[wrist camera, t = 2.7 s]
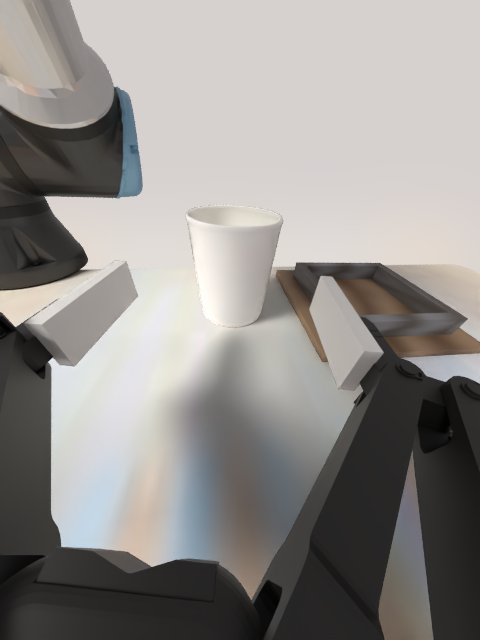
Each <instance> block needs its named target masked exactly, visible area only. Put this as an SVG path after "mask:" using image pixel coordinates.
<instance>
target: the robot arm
mask: <svg viewBox="0 0 480 640" xmlns="http://www.w3.org/2000/svg"><path fill="white" fill-rule="evenodd" d="M142 186H143V185H142V173H141V164H140V157H139V151H138V143H137V134H136V127H135V121H134V115H133V109H132V104H131V100H130V97H129V95H128V94H127V93H126V92H125V91H123V90H120V88H118V87H114V86H113V82H112V79H111V76H110V74H109V71H108V69H107V67H106V65H105V64H104V62H103V61H102V59H101V58H100V57H99V56H98V55H97V53H96V52H95V51H94V50H92V48H91V47H89V46H88V45H87V44H86V43H85V42H84V41H83V38H82V35H81V32H80V29H79V27H78V24H77V21H76V18H75V15H74V12H73V9H72V6H71V3H70V0H0V289H15V288H23V287H29V286H34V285H39V284H43V283H47V282H51V281H54V280H57V279H60V278H63V277H65V276H68V275H70V274H72V273H74V272H76V271H78V270H80V269H81V268H82V267H84V266H85V265H86V263H87V262H88V258H87V256H86V253H85V251H84V249H83V247H82V246H81V245H80V244H79V243H78V242H77V241H76V240H75V239H74V237H73V236H72V235H71V234H70V233H69V231H68V230H67V229H66V228H65V227H64V226H63V225H62V223H61V222H60V221H59V220H58V219H57V218H56V217H55V216H54V214H53V213H52V211H51V209H50V207H49V205H48V203H47V201H46V199H45V197H44V196H61V197H104V198H120V197H129V196H137V195H139V194H140V192H141V191H142ZM137 297H138V294H137V291H136V288H135V285H134V283H133V280H132V277H131V274H130V271H129V268H128V265H127V262H126V261H114V262H112V263H111V264H110V265H108V266H107V267H105V268H104V269H102V270H101V271H99V272H98V273H96V274H95V275H93V276H92V277H90V278H89V279H87V280H86V281H84V282H83V283H82V284H80V285H79V286H77V287H76V288H74V289H73V290H71V291H70V292H68V293H67V294H65V295H64V296H62V297H61V298H59V299H57V300H55V301H54V302H52V303H51V304H49V306H46V307H45V308H44V309H42V311H39V312H38V313H36V314H35V315H33V316H32V317H30V318H29V319H27V320H26V321H24V322H23V323H21V324H20V325H18V326H17V327H15V326H14V325H13V324H12V323H11V322H10V321H9V320H8V319H7V318H6V317H5V316H4V315H3V313H1V312H0V640H384V635H383V632H382V628H381V625H380V621H379V614H378V608H379V600H380V595H381V591H382V586H383V581H384V577H385V572H386V568H387V563H388V558H389V554H390V549H391V544H392V540H393V535H394V531H395V526H396V521H397V517H398V512H399V507H400V503H401V498H402V494H403V489H404V484H405V480H406V475H407V470H408V466H409V461H410V457H411V452H412V450H413V459H414V468H415V477H416V486H417V495H418V503H419V512H420V521H421V530H422V539H423V548H424V557H425V566H426V575H427V584H428V593H429V602H430V611H431V620H432V629H433V638H434V640H480V384H479V383H477V382H475V381H473V380H471V379H469V378H465V377H461V376H453V377H452V378H450V379H449V380H448V381H447V382H443V381H440V380H437V379H434V378H430V377H427V376H426V375H425V374H424V372H423V371H422V370H421V369H420V368H419V367H417V366H416V365H415V364H413V363H411V362H409V361H407V360H404V359H401V358H399V357H398V356H397V355H396V353H395V352H394V350H393V349H392V348H391V346H390V345H389V344H388V342H387V341H386V340H385V338H383V336H382V334H381V333H380V332H379V330H378V329H377V327H376V326H375V325H374V324H373V323H372V322H371V321H370V320H368V319H367V318H366V317H359V315H358V314H357V312H356V311H355V309H354V308H353V306H352V305H351V304H350V302H349V301H348V299H347V298H346V296H345V295H344V293H343V292H342V290H341V289H340V287H339V286H338V284H337V283H336V281H335V280H334V278H333V277H331V276H320V279H319V282H318V285H317V288H316V291H315V294H314V297H313V300H312V303H311V306H310V309H309V310H310V313H311V316H312V318H313V321H314V324H315V326H316V329H317V332H318V335H319V337H320V340H321V343H322V346H323V348H324V351H325V354H326V357H327V359H328V362H329V365H330V368H331V370H332V373H333V376H334V379H335V381H336V384H337V387H338V389H343V390H355V389H356V387H357V386H358V385H359V384H360V385H361V387H362V389H363V392H362V393H361V394H360V395H359V397H358V398H357V399H356V400H355V401H354V403H355V406H354V408H353V410H352V412H351V414H350V416H349V418H348V419H347V421H346V423H345V425H344V427H343V429H342V431H341V433H340V435H339V437H338V439H337V441H336V443H335V445H334V447H333V449H332V451H331V453H330V455H329V457H328V459H327V461H326V463H325V465H324V467H323V468H322V470H321V472H320V474H319V476H318V478H317V480H316V482H315V484H314V486H313V488H312V490H311V492H310V494H309V496H308V498H307V500H306V502H305V504H304V506H303V508H302V510H301V512H300V514H299V516H298V517H297V519H296V521H295V523H294V525H293V527H292V529H291V531H290V533H289V535H288V537H287V539H286V540H285V542H284V544H283V545H282V546H281V548H280V549H279V550H278V552H277V554H276V555H275V557H274V559H273V561H272V562H271V564H270V566H269V568H268V570H267V572H266V574H265V576H264V578H263V580H262V582H261V583H260V585H259V587H258V589H257V591H256V593H255V595H254V597H253V599H252V601H251V599H250V598H249V596H248V594H247V592H246V591H245V589H244V588H243V586H242V585H241V583H240V582H239V581H238V580H237V579H236V578H235V576H234V575H232V574H231V573H230V572H229V571H228V570H227V569H225V568H223V567H222V566H220V565H219V562H217V561H208V560H198V559H180V560H174V561H171V562H167V563H164V564H161V565H157V566H154V567H151V566H149V565H148V564H146V563H145V562H143V561H141V560H140V559H138V558H136V557H135V556H133V555H132V554H130V553H128V552H124V551H114V550H105V549H92V548H71V547H61V539H60V533H59V530H58V527H57V525H56V524H55V522H54V521H53V519H52V515H51V366H50V364H49V363H48V361H49V360H50V359H52V358H54V359H55V360H56V361H57V362H58V364H59V365H65V366H75V365H76V364H77V363H78V362H79V361H80V360H81V359H82V358H83V357H84V355H85V354H86V353H87V352H88V351H89V350H90V349H91V348H92V347H93V345H94V344H95V343H96V342H97V341H98V340H99V339H100V338H101V337H102V335H103V334H104V333H105V332H106V331H107V330H108V329H109V328H110V327H111V325H112V324H113V323H114V322H115V321H116V320H117V319H118V318H119V317H120V315H121V314H122V313H123V312H124V311H125V310H126V309H127V308H128V307H129V305H130V304H131V303H132V302H133V301H134V300H135V299H136V298H137Z"/></svg>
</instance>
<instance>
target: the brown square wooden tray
mask: <svg viewBox="0 0 480 640" xmlns="http://www.w3.org/2000/svg"><path fill="white" fill-rule="evenodd" d="M276 276H277V278H278V280H279V282H280V284H281V285H282V287H283V289H284V291H285V293H286V295H287V297H288V299H289V300H290V302H291V304H292V306H293V308H294V310H295V312H296V314H297V315H298V317H299V319H300V321H301V323H302V325H303V327H304V328H305V330H306V332H307V334H308V336H309V338H310V340H311V342H312V343H313V345H314V347H315V349H316V351H317V353H318V355H319V357H320V358H321V360H322V362H328V359H327V357H326V354H325V351H324V348H323V346H322V343H321V340H320V337H319V335H318V332H317V329H316V326H315V324H314V321H313V318H312V316H311V313H310V310H309V309H310V306H311V303H312V300H313V297H314V294H315V291H316V288H317V285H318V282H319V279H320V276H331V277H333V278H334V280H335V281H336V283H337V284H338V286H339V287H340V289H341V290H342V292H343V293H344V295H345V296H346V298H347V299H348V301H349V302H350V304H351V305H352V306H353V308H354V309H355V311H356V312H357V314H358V315H359V317H366V318H367V319H368V320H370V321H371V322H372V323H373V324H374V325H375V326H376V327H377V329H378V330H379V332H380V333H381V334H382V336H383V338H385V340H386V341H387V342H388V344H389V345H390V346H391V348H392V349H393V350H394V352H395V353H396V355H397V356H398V357H399V358H401V357H418V356H436V355H453V354H471V353H480V342H479V341H477V340H476V339H474V338H473V337H472V336H470V335H469V334H467V333H466V332H464V331H463V330H461V329H460V328H459V327H460V326H461V325H462V324H463V323H464V322H465V321H466V320H467V319H468V318H466V317H464V316H463V315H461V314H460V313H458V312H456V311H455V310H453V309H452V308H450V307H449V306H447V305H445V304H444V303H442V302H441V301H439V300H438V299H436V298H434V297H433V296H431V295H430V294H428V293H426V292H425V291H423V290H422V289H420V288H419V287H417V286H415V285H414V284H412V283H411V282H409V281H407V280H406V279H404V278H403V277H401V276H400V275H398V274H396V273H395V272H393V271H392V270H390V269H389V268H387V267H385V266H384V265H382V264H381V263H296V267H295V270H277V273H276Z"/></svg>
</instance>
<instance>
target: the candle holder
mask: <svg viewBox="0 0 480 640" xmlns="http://www.w3.org/2000/svg"><path fill="white" fill-rule="evenodd" d="M186 220H187V223H188V229H189V234H190V240H191V246H192V252H193V259H194V265H195V271H196V277H197V283H198V289H199V295H200V300H201V306H202V310H203V313H204V315H205V317H206V318H207V319H208V320H210V321H211V322H213V323H215V324H217V325H220V326H224V327H242V326H246V325H249V324H251V323H253V322H254V321H255V320H257V319H258V317H259V316H260V314H261V311H262V307H263V303H264V299H265V295H266V290H267V286H268V282H269V277H270V273H271V269H272V264H273V260H274V256H275V251H276V247H277V243H278V238H279V234H280V230H281V226H282V224H283V218H282V216H281V215H279V214H278V213H275V212H273V211H269V210H265V209H262V208H256V207H249V206H238V205H208V206H201V207H196V208H192V209H190V210H188V211H187V212H186Z"/></svg>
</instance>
